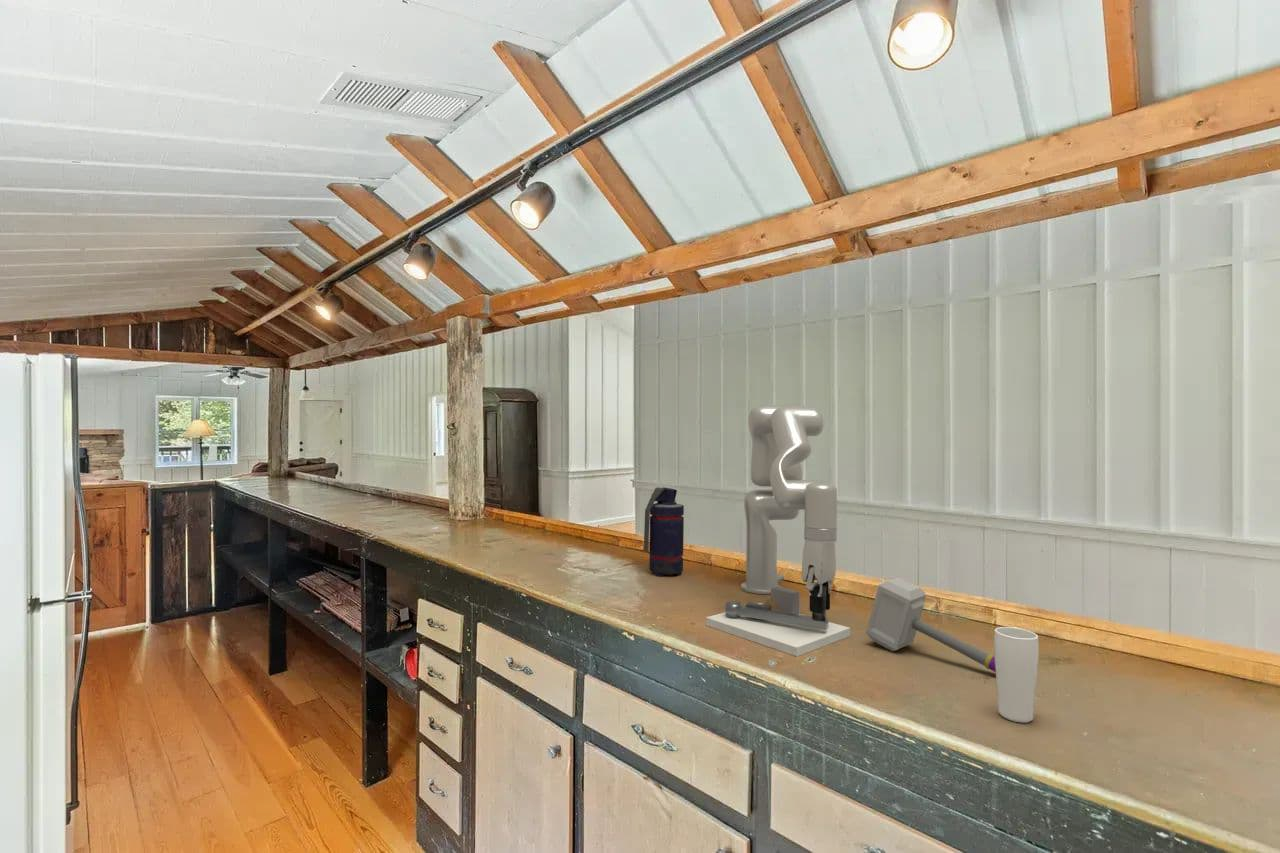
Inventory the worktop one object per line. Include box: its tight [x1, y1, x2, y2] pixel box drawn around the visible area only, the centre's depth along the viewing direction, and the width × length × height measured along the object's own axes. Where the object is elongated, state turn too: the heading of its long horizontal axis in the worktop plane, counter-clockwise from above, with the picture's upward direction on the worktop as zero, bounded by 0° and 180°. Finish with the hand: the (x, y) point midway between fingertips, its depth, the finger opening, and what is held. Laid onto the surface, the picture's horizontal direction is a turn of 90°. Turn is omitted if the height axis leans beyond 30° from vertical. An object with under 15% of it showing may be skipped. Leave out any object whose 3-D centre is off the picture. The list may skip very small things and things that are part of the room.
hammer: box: [865, 577, 996, 673], centre depth 136 cm, size 15×8×30 cm
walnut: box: [762, 598, 778, 611], centre depth 160 cm, size 4×4×4 cm
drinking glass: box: [993, 626, 1040, 723], centre depth 110 cm, size 7×7×15 cm
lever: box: [725, 585, 829, 630], centre depth 155 cm, size 26×5×10 cm, turn 60°
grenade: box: [643, 486, 685, 578], centre depth 216 cm, size 14×12×30 cm
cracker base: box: [705, 586, 851, 657], centre depth 155 cm, size 28×22×8 cm
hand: (819, 609), depth 149 cm, fingers closed on lever, 3 cm apart
